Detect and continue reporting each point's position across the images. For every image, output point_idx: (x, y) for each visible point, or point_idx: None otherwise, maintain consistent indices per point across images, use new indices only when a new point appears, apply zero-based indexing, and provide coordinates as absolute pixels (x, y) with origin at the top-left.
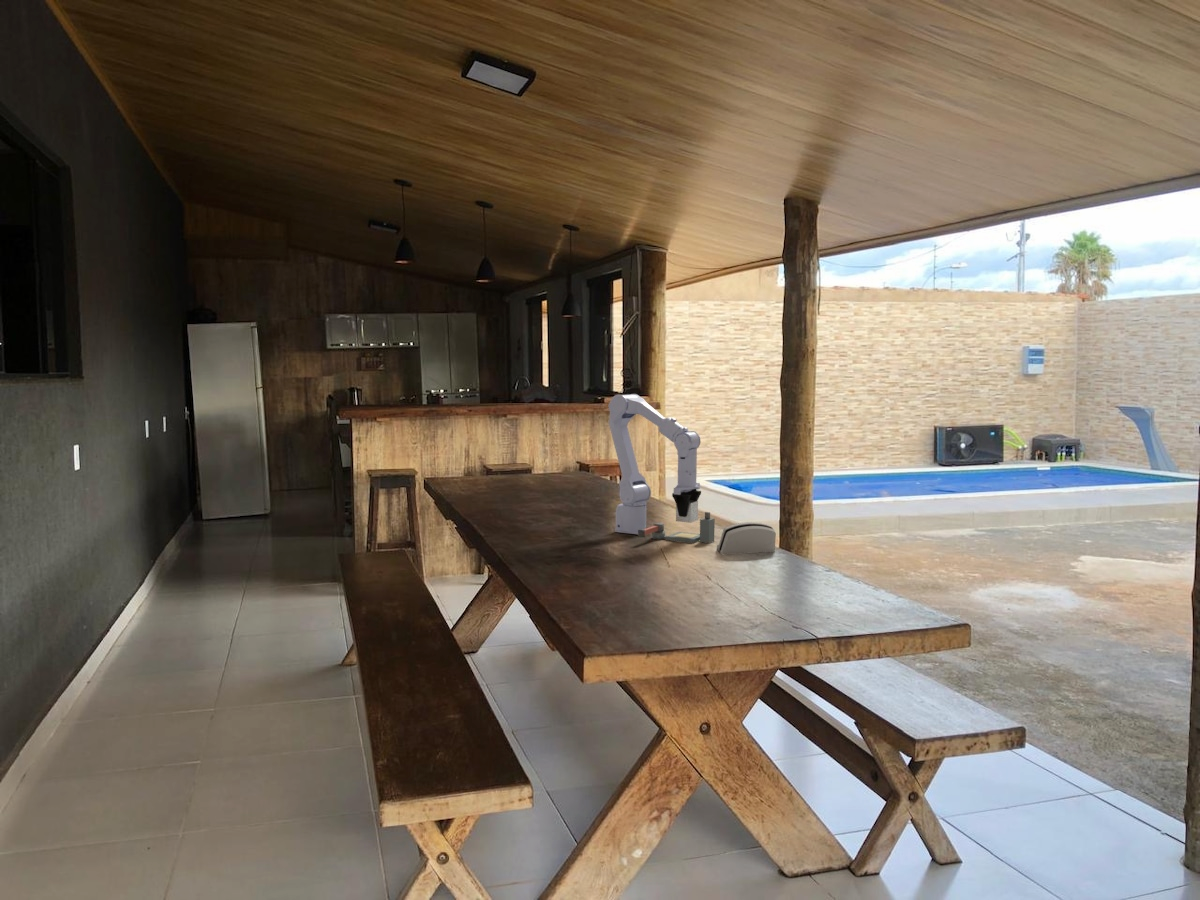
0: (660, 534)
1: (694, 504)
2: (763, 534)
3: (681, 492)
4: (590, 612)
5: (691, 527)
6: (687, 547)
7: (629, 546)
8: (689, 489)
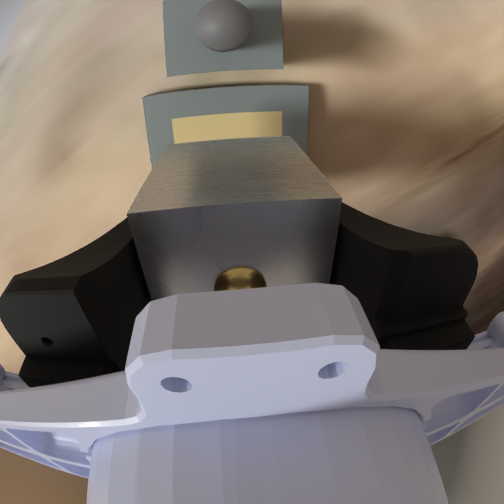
0: None
1: (233, 189)
2: None
3: (462, 348)
4: None
5: (21, 271)
6: (396, 77)
7: None
8: (436, 351)
